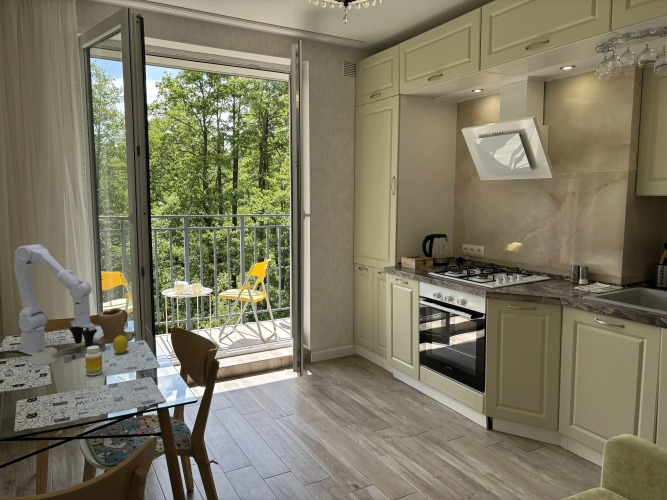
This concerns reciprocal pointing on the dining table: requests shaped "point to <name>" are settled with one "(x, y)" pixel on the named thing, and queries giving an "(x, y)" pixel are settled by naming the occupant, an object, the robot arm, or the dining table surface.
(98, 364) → the supplement bottle
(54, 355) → the block
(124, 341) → the lemon
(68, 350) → the socket
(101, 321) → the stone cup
